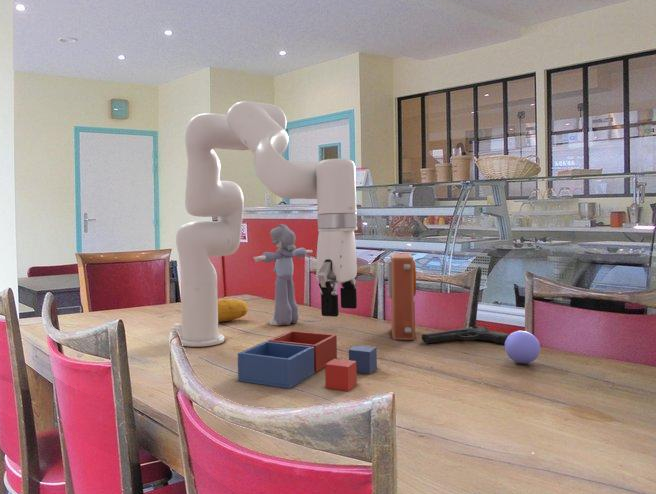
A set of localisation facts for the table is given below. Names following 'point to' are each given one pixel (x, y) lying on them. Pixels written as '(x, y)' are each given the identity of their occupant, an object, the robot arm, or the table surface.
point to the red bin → (312, 345)
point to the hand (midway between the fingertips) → (339, 311)
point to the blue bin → (276, 364)
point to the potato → (231, 309)
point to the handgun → (466, 335)
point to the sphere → (522, 347)
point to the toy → (284, 274)
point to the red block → (341, 374)
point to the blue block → (364, 358)
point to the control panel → (402, 295)
